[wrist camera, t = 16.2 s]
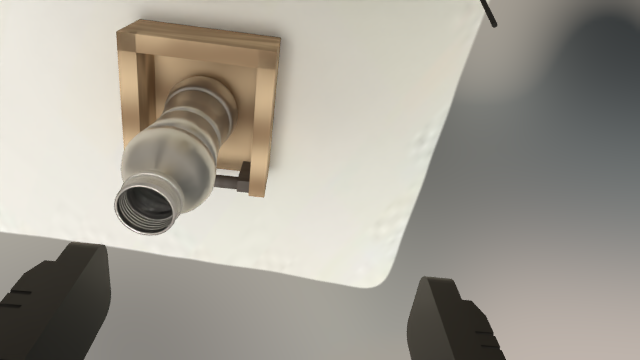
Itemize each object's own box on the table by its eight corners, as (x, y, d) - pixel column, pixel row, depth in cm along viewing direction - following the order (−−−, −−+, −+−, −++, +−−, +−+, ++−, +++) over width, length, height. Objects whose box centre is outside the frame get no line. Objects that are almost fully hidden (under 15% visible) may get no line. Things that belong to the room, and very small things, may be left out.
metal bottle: (202, 55, 44) (130, 139, 26) (255, 105, 46) (222, 213, 29) (159, 101, 46) (65, 207, 28) (212, 147, 48) (156, 271, 31)
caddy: (139, 19, 43) (116, 31, 38) (280, 37, 44) (276, 52, 39) (145, 156, 50) (126, 183, 44) (268, 169, 51) (264, 197, 45)
